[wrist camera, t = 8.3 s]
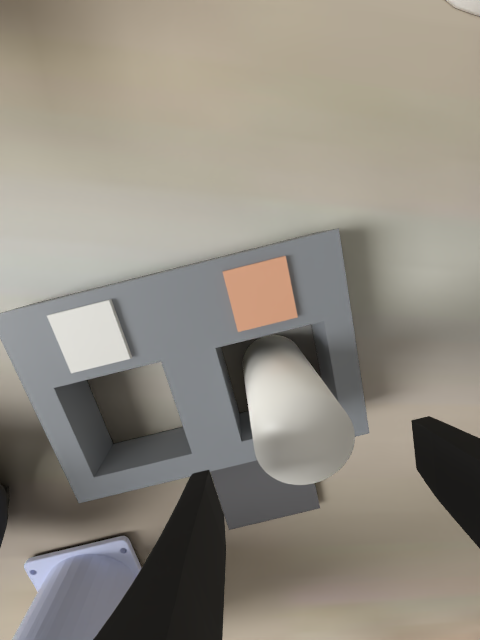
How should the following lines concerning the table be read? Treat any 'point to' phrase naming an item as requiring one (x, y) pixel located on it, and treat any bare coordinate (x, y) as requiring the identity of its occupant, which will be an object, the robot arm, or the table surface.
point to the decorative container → (467, 6)
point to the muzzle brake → (3, 510)
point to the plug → (293, 414)
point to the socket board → (179, 357)
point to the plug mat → (259, 495)
